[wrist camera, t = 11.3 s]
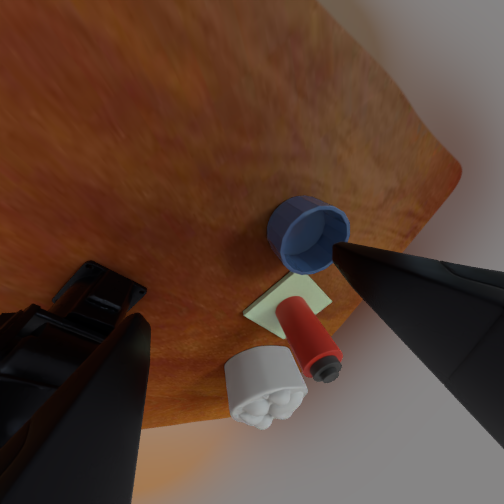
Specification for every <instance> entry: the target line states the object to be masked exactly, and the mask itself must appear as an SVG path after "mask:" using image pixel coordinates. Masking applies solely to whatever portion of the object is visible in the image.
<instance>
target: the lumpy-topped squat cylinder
mask: <svg viewBox="0 0 504 504" xmlns="http://www.w3.org/2000/svg"><path fill="white" fill-rule="evenodd" d="M224 369H225V377H226V385H227V393H228V401H229V409H230V415H231V417H232V418H233V419H234V420H236V421H238V422H244V423H246V424H247V425H251V426H253V425H254V426H255V427H256V428H258V429H261V430H263V429H266V428H268V427H269V426H270V425H271V423H272V419H274V418H277V419H287V418H289V417H290V416H291V415H292V413H293V411H294V410H296V408H297V407H298V406H299V405H300V404H301V402H302V399H303V397H304V396H305V395H306V394H307V392H308V390H307V387H306V384H305V382H304V380H303V378H302V376H301V374H300V371H299V369H298V367H297V365H296V363H295V360H294V358H293V356H292V354H291V352H290V350H289V348H287V347H284V346H259V347H254V348H251V349H248V350H246V351H243V352H241V353H239V354H237V355H235V356H234V357H232V358H231V359H229V360H228V361H227V362H226V364H225V366H224Z"/></svg>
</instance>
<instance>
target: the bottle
mask: <svg viewBox="0 0 504 504" xmlns="http://www.w3.org/2000/svg"><path fill="white" fill-rule="evenodd" d="M275 314H276V317H277V319H278V321H279V323H280V325H281V327H282V329H283V332H284V334H285V336H286V338H287V340H288V342H289V344H290V346H291V349H292V351H293V353H294V355H295V357H296V359H297V361H298V363H299V366H300V368H301V370H302V372H303V374H304V375H305V376H306V377H311V378H312V377H313V379H314V380H315V381H318V382H320V381H323V382H324V383H329V382H332V381H334V380H335V379H336V378H337V377H338V376H339V373H338V372H339V371H340V370H341V367H342V365H341V363H340V362H341V360H342V358H343V354H342V352H341V351H340V349H339V348H338V347H337V345H336V344H335V342H334V341H333V339H332V338H331V337H330V335H329V334H328V332H327V331H326V329H325V328H324V327H323V325H322V324H321V322H320V321H319V320H318V318H317V317H316V315H315V314H314V312H313V311H312V310H311V308H310V307H309V305H308V304H307V303H306V301H305V300H304V299H303V298H302V297H300V296H292V297H289V298H286V299H284V300H283V301H282V302H281V303H280V304H279V305H278V306H277V308H276V311H275Z"/></svg>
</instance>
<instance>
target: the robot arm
mask: <svg viewBox="0 0 504 504" xmlns="http://www.w3.org/2000/svg"><path fill="white" fill-rule="evenodd" d="M332 261H333V263H334V264H335V266H336V267H337V268H338V270H339V271H340V272H341V273H342V275H343V276H344V277H345V279H346V280H347V281H348V283H349V284H350V285H351V286H352V288H353V289H354V290H355V291H356V292H357V293H358V294H359V295H360V296H361V297H362V298H363V300H364V301H366V303H367V304H368V305H369V306H370V307H371V308H372V309H373V310H374V311H375V312H376V313H377V314H378V315H379V317H380V318H381V319H382V320H384V322H385V323H386V324H387V325H388V326H389V327H390V328H391V329H392V330H393V331H394V332H395V334H397V336H398V337H399V338H400V339H401V340H402V341H403V342H404V343H405V344H406V345H407V346H408V347H409V348H410V350H412V352H413V353H414V354H415V355H416V356H417V357H418V358H419V359H420V360H421V361H422V362H423V363H424V364H425V365H426V367H428V369H429V370H430V371H431V372H432V373H433V374H434V375H435V376H436V377H437V378H438V379H439V380H440V381H441V382H442V383H443V384H444V386H445V387H446V388H447V389H448V390H449V391H450V392H451V393H452V394H453V395H454V397H455V398H457V400H458V401H459V402H460V403H461V404H462V405H463V406H464V407H465V408H466V409H467V410H468V411H469V412H470V414H471V415H472V416H473V417H474V418H475V419H476V420H477V421H478V422H479V423H480V424H481V425H482V426H483V427H484V428H485V429H486V431H488V433H489V434H490V435H491V436H492V437H493V438H494V439H495V440H496V441H497V442H498V443H499V444H500V445H501V446H502V447H503V449H504V272H501V271H495V270H489V269H482V268H476V267H471V266H465V265H460V264H454V263H449V262H444V261H438V260H434V259H428V258H424V257H418V256H413V255H408V254H403V253H398V252H393V251H388V250H383V249H378V248H373V247H368V246H363V245H358V244H352V243H347V242H338V243H335V244H333V246H332ZM88 265H91V266H92V267H90V266H88ZM140 290H142V291H140ZM146 292H147V288H146V287H144V286H142V285H140V284H138V283H136V282H134V281H132V280H130V279H128V278H126V277H124V276H122V275H120V274H118V273H116V272H114V271H112V270H110V269H108V268H106V267H104V266H102V265H100V264H98V263H96V262H94V261H87V262H85V263H84V264H83V266H82V267H81V268H80V269H79V270H78V271H77V272H76V273H75V274H74V276H73V277H72V278H71V279H70V280H69V281H68V282H67V283H66V285H65V286H64V287H63V288H62V289H61V290H60V291H59V292H58V294H57V295H56V296H55V297H54V298H53V299H52V302H53V303H55V304H54V305H53V306H52V307H51V308H50V309H49V310H48V311H46V310H44V309H41V307H40V306H38V305H36V304H31V305H30V306H29V307H28V308H26V309H25V310H24V311H22V310H20V311H19V312H16V313H2V314H1V315H0V504H131V500H132V492H133V486H134V478H135V470H136V463H137V456H138V449H139V441H140V434H141V426H142V419H143V411H144V404H145V397H146V389H147V382H148V374H149V366H150V339H151V327H150V325H149V323H148V322H147V321H146V319H145V318H144V317H143V316H142V315H141V314H140V313H134V314H131V315H129V316H127V317H126V318H125V319H124V317H125V315H126V313H127V312H128V311H129V310H130V309H131V308H132V307H133V306H134V305H135V304H136V303H137V302H138V301H139V300H140V299H141V298H142V297H143V296H144V295H145V294H146Z"/></svg>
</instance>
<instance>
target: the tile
mask: <svg viewBox="0 0 504 504" xmlns="http://www.w3.org/2000/svg"><path fill="white" fill-rule="evenodd" d="M292 296H300V297H302V298H303V299H304V300H305V301H306V303H307V304H308V305H309V307H310V308H311V310H312V311H313V312H314V314H315V315H316V314H317V313H318V312H320V311H321V310H322V309H324V308H325V307H326V306H327V305H329V304H330V303H331V302H332V300H331V299H330V298H329V297H328V296H327V295H326V294H325V293H324V292H323V291H322V290H321V289H320V288H319V286H318V285H317V284H316V283H315V282H314V281H313V280H312V279H311V278H310V277H309V276H308V275H300V274H296V273H293V272H291V271H290V272H289V273H288V274H287V275H286V276H284V277H283V278H282V279H281V280H280V281H278V282H277V283H276V284H275V285H274V286H273V287H271V288H270V289H269V290H268V291H267V292H265V293H264V294H263V295H262V296H261V297H260V298H258V299H257V300H256V301H255V302H254V303H252V304H251V305H250V306H249V307H248V308H247V309H245V310H244V311H243V315H244V316H245V317H247V318H249V319H250V320H252V321H254V322H255V323H257V324H259V325H260V326H262V327H264V328H265V329H267V330H269V331H271V332H272V333H274V334H276V335H277V336H279V337H281V338H282V339H285V338H286V336H285V334H284V332H283V329H282V327H281V325H280V323H279V321H278V319H277V317H276V314H275V311H276V308H277V306H278V305H279V304H280V303H281V302H282V301H283V300H284V299H286V298H289V297H292Z"/></svg>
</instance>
